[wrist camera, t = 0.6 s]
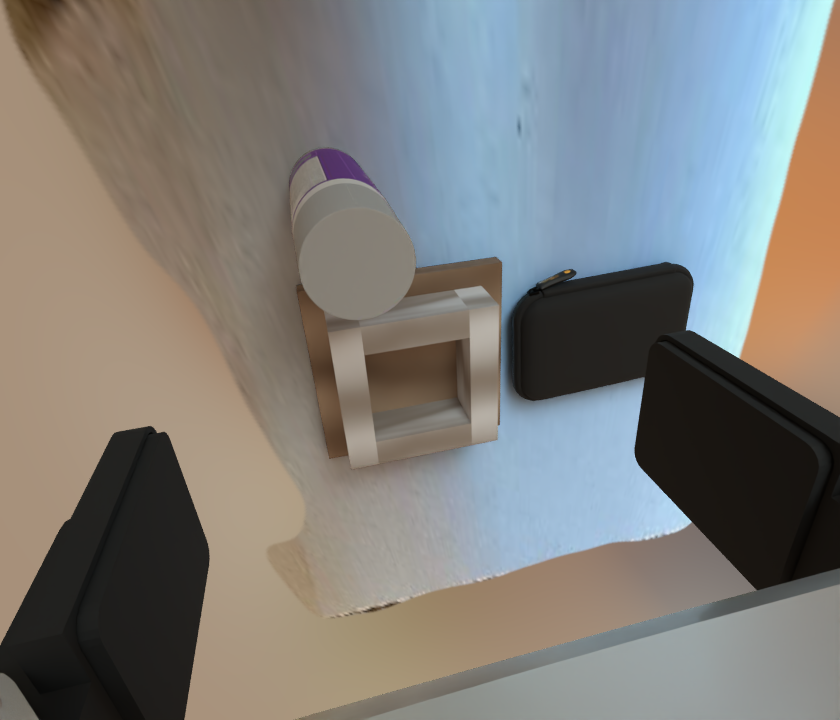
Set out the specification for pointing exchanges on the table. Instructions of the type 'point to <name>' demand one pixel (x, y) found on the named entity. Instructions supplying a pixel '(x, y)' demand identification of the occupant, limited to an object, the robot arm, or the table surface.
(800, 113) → the table surface
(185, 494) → the robot arm
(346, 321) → the mount
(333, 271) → the container
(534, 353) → the carrying case or bag
